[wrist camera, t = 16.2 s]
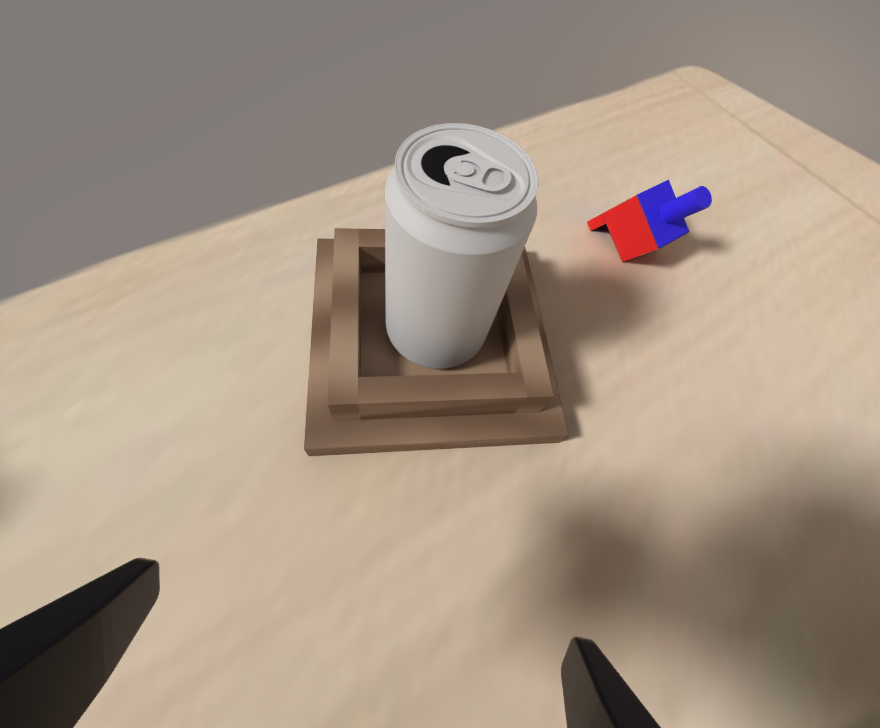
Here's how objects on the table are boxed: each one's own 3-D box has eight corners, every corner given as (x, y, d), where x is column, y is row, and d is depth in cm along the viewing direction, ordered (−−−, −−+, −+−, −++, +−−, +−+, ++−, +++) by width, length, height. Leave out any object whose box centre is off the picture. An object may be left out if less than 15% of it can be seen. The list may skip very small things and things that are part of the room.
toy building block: (606, 268, 35) (694, 235, 27) (586, 221, 34) (670, 175, 27) (634, 252, 36) (726, 217, 28) (615, 207, 35) (704, 159, 28)
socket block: (559, 442, 26) (586, 421, 22) (308, 456, 24) (294, 435, 20) (518, 255, 32) (534, 215, 29) (320, 253, 30) (311, 210, 27)
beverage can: (410, 276, 28) (423, 96, 18) (497, 311, 28) (565, 147, 17) (368, 350, 25) (353, 187, 15) (464, 390, 25) (522, 252, 14)
